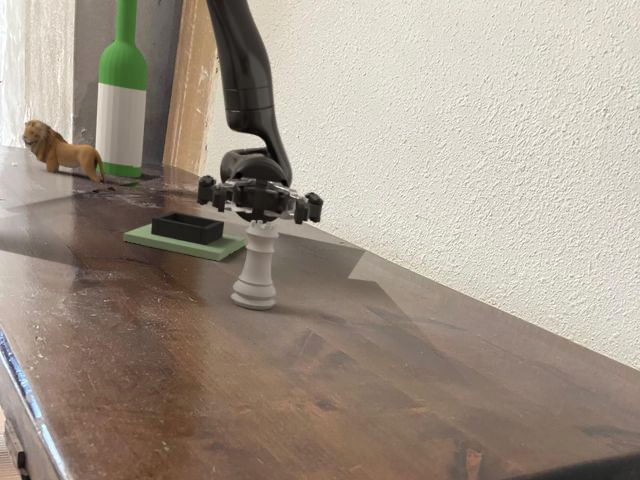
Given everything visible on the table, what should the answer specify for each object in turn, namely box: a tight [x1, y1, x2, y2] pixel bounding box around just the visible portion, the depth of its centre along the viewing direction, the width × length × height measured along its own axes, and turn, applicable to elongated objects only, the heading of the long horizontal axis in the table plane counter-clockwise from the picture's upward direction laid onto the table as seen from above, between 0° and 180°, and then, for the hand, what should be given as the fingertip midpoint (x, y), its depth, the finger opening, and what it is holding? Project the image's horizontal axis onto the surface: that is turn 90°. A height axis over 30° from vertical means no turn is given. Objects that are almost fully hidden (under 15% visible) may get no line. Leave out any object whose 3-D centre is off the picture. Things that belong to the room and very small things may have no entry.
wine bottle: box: [94, 0, 148, 187], centre depth 123 cm, size 8×8×30 cm
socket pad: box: [123, 210, 246, 262], centre depth 94 cm, size 12×12×3 cm
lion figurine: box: [21, 119, 116, 194], centre depth 116 cm, size 15×5×9 cm, turn 88°
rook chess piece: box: [230, 220, 280, 311], centre depth 73 cm, size 4×4×8 cm
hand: (261, 208), depth 80 cm, fingers open, 8 cm apart
